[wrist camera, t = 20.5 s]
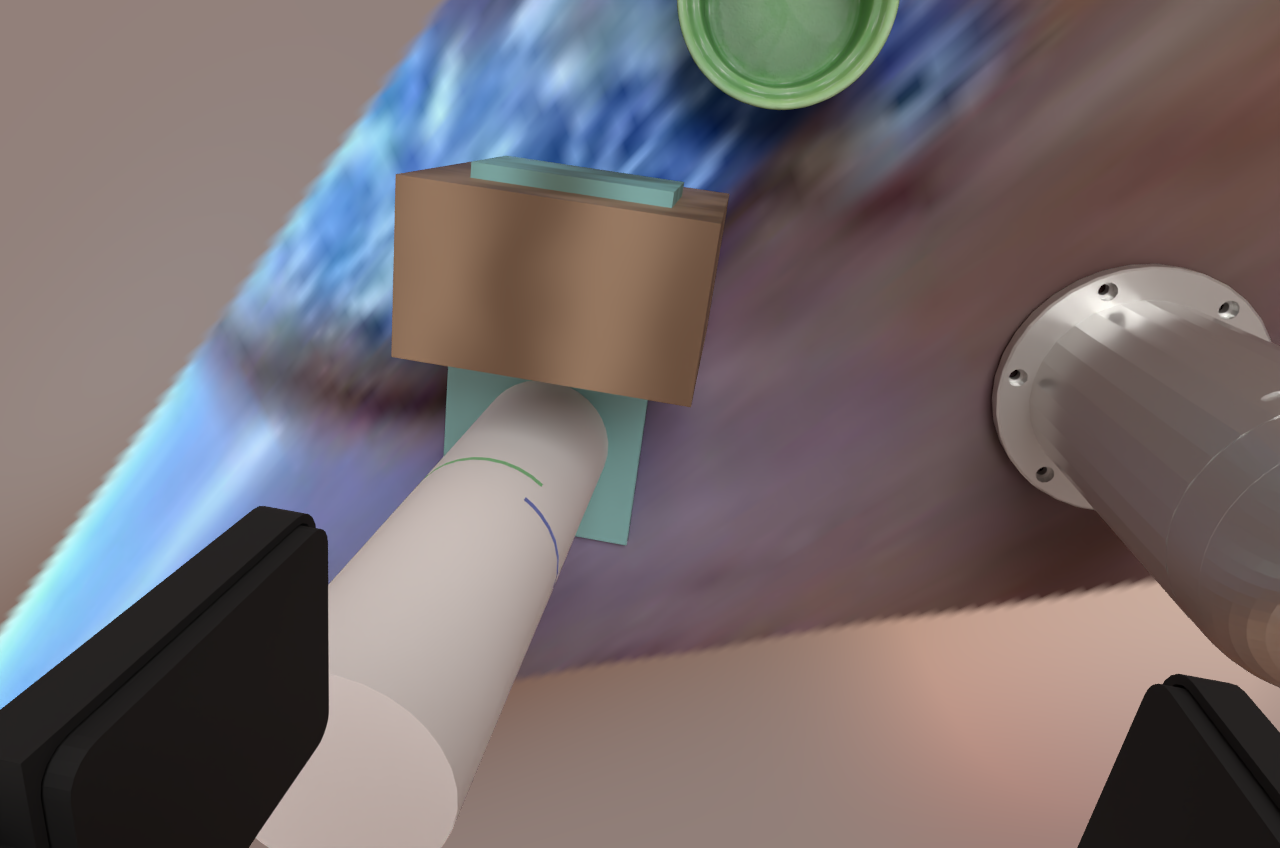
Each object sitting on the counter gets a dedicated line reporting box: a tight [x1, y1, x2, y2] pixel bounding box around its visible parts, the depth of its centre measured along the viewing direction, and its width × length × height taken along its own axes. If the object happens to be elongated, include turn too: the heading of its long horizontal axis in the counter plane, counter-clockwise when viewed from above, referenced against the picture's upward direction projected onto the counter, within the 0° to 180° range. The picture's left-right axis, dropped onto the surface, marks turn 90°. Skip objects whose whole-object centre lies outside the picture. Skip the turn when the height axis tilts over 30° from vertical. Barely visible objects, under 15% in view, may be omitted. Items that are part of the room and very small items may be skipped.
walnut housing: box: [392, 156, 729, 407], centre depth 37 cm, size 12×8×12 cm, turn 82°
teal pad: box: [444, 366, 648, 545], centre depth 46 cm, size 11×11×1 cm
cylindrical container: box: [256, 381, 608, 848], centre depth 34 cm, size 7×7×25 cm
